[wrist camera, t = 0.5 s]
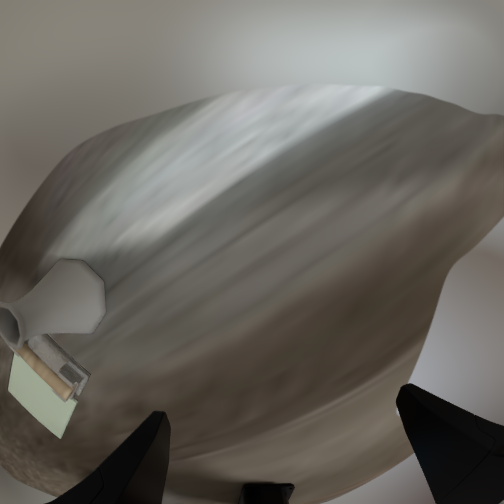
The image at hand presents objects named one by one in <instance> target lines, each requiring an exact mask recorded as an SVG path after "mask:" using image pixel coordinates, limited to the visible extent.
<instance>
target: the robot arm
mask: <svg viewBox="0 0 504 504" xmlns="http://www.w3.org/2000/svg"><path fill="white" fill-rule="evenodd" d="M396 405H397V408H398V411H399V414H400V417H401V420H402V423H403V426H404V429H405V432H406V434H407V437H408V439H409V441H410V443H411V445H412V448H413V450H414V452H415V454H416V457H417V459H418V461H419V464H420V466H421V468H422V471H423V473H424V475H425V478H426V480H427V482H428V485H429V487H430V490H431V492H432V495H433V497H434V500H435V503H436V504H504V426H503V425H499V424H496V423H493V422H490V421H488V420H486V419H483V418H481V417H479V416H477V415H474V414H472V413H470V412H468V411H466V410H464V409H462V408H460V407H458V406H456V405H454V404H452V403H450V402H447V401H445V400H443V399H441V398H439V397H437V396H435V395H433V394H431V393H429V392H427V391H425V390H423V389H421V388H419V387H418V386H416V385H414V384H411V383H409V384H406V385H403V386H402V387H401V388H400V391H399V393H398V396H397V398H396ZM170 433H171V427H170V423H169V420H168V418H167V415H166V413H165V412H164V411H153V412H152V413H151V414H150V415H149V416H148V417H147V418H146V419H145V420H144V421H143V422H142V423H141V424H140V425H139V427H138V428H137V429H136V430H135V431H134V432H133V433H132V434H131V435H130V436H129V437H128V438H127V439H126V440H125V441H124V442H123V443H122V444H121V445H120V446H119V447H118V448H117V449H116V450H115V451H113V452H112V453H111V454H110V455H109V456H108V457H107V458H106V459H105V460H104V461H103V462H102V463H101V464H100V465H99V467H97V468H96V469H95V470H94V471H93V472H92V473H90V474H89V475H88V476H87V477H86V478H85V479H84V480H82V481H81V482H80V483H78V484H77V485H76V486H74V487H73V488H71V489H70V490H68V491H67V492H65V493H64V494H62V495H61V496H59V497H58V498H56V499H55V500H53V501H51V502H49V503H45V504H161V503H162V497H163V492H164V486H165V481H166V475H167V470H168V464H169V448H170ZM294 488H295V487H294V485H293V484H286V485H251V484H246V485H243V488H242V492H241V496H240V499H239V503H238V504H289V502H288V500H289V498H290V496H291V494H292V492H293V490H294Z"/></svg>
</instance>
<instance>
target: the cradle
mask: <svg viewBox="0 0 504 504" xmlns="http://www.w3.org/2000/svg"><path fill="white" fill-rule="evenodd" d="M24 342H25V343H26V344H27V345H28V346H29V347H30V348H31V349H32V350H33V351H34V352H35V353H36V354H37V355H38V356H39V357H40V359H41V360H42V361H43V362H44V363H46V364H47V365H48V366H49V367H50V368H51V369H52V370H53V371H54V372H55V373H56V374H57V375H58V377H60V378H61V379H62V380H63V381H64V382H65V383H66V384H67V385H69V386H70V387H71V388H73V389H74V390H73V392H72V394H71V395H70V397H69V398H70V399H71V400H72V399H73V397H74V396H75V395H76V394H77V395H79V396H80V395H81V394H82V392H83V389H84V387H85V385H86V383H87V381H88V379H89V377H90V376H91V374H90V373H89V372H87V371H86V370H85V369H84V368H83V367H81V366H80V365H79V364H78V363H77V362H76V361H75V360H73V359H72V358H71V357H70V356H69V355H68V354H67V353H66V352H65V351H64V350H62V349H61V348H60V347H59V346H58V345H57V344H56V343H55V342H54V341H53V340H52V339H51V338H50V337H49V336H48V335H47V334H43V335H38V336H34V337H32V338H30V339H28V340H26V341H24ZM9 347H10V346H9ZM10 348H11V349H12V351H13V352H14V353H15V354H16V355H17V356H18V357H20V355H19V354H18V353H17V352H16V351H15V350H14V349H13V347H10ZM52 392H53V393H55V394H56V395H57V396H58V397H59V398H60V399H61V400H63V401H64V402H66V401H67V400H68V399H69V398H68V399H67V400H65V399H64V398H62V397H61V396H60V395H59V394H58V393H57V392H56V391H54V390H52Z"/></svg>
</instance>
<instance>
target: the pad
mask: <svg viewBox="0 0 504 504" xmlns="http://www.w3.org/2000/svg"><path fill="white" fill-rule="evenodd" d="M8 390H9V392H10V393H11V394H12V395H13V396H14V397H15V398H16V399H17V400H18V401H19V402H20V403H21V404H22V405H23V406H24V407H25V408H26V409H27V410H28V411H29V412H30V413H31V414H32V415H33V416H34V417H35V418H36V419H37V420H38V421H40V422H41V423H42V424H43V425H44V426H45V427H46V428H48V429H49V430H50V431H51V432H52V433H53V434H55V435H56V436H57V437H58V438H60V439H61V438H62V435H63V433H64V431H65V428H66V426H67V424H68V422H69V419H70V417H71V415H72V413H73V411H74V408H75V406H76V404H77V402H78V401H77V400H75V399H74V398H73V399H72V400H71V399H70V398H69V399H68V400H67V401H66V402H64V401H63V400H61V399H60V398H59V397H58V396H57V395H56V394H55V393H53V392H52V390H53V389H52V388H51V387H50V386H49V385H48V384H47V383H46V382H45V381H44V380H43V379H42V378H41V377H40V376H39V375H38V374H37V373H36V372H35V371H34V370H33V369H32V368H31V367H30V366H29V365H28V364H27V363H26V362H25V361H24V360H23V359H22V358H21V356H20V357H18V356H17V355H16V354H15V353H14V358H13V363H12V368H11V374H10V380H9V387H8Z"/></svg>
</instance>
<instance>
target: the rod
mask: <svg viewBox="0 0 504 504" xmlns="http://www.w3.org/2000/svg"><path fill="white" fill-rule="evenodd" d="M13 349H14V350H15V351H16V352H17V353H18V354H19V355H20V356H21V358H22V359H23V360H24V361H25V362H26V363H27V364H28V365H29V366H30V367H31V368H32V369H33V370H34V371H35V372H36V373H37V374H38V375H39V376H40V377H41V378H42V379H43V380H44V381H45V382H46V383H47V384H48V385H49V386H50V387H51V388H52V389H53V390H54V391H56V392H57V393H58V394H59V395H60V396H61V397H62V398H64V399H65V400H67V399H68V398H69V397H70V395H71V394H72V392H73V390H74V389H73V388H71V387H70V386H69V385H67V384H66V383H65V382H64V381H63V380H62V379H61V378H60V377H58V375H57V374H56V373H55V372H54V371H53V370H52V369H51V368H50V367H49V366H48V365H47V364H46V363H44V362H43V361H42V360H41V359H40V357H39V356H38V355H37V354H36V353H35V352H34V351H33V350H32V349H31V348H30V347H29V346H28V345H27V344H26V343H25V342H24V344H23V347H22V348H21V349H20V350H18V349H15V348H13Z"/></svg>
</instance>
